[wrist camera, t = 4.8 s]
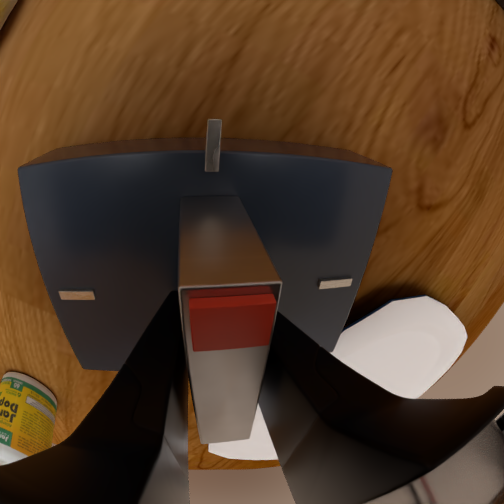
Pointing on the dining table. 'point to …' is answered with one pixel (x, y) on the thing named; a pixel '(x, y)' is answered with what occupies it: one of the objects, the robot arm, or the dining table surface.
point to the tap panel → (167, 228)
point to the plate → (381, 359)
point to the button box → (501, 3)
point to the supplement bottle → (24, 417)
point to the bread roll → (5, 10)
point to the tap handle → (224, 313)
